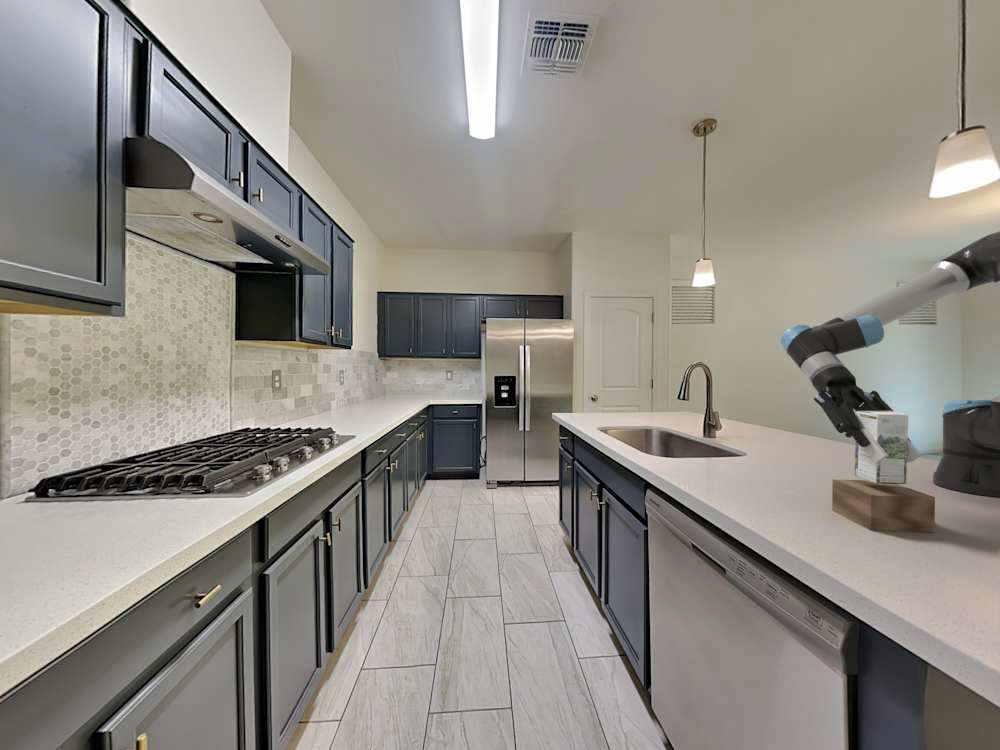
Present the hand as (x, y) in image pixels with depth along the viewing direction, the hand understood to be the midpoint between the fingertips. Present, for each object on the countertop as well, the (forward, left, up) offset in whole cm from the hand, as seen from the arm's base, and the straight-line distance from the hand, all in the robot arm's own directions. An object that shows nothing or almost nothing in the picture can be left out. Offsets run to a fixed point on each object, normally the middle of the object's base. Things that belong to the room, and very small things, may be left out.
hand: (898, 458), depth 79 cm
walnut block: (+1, -4, -14) cm, 14 cm away
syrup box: (+1, -4, -6) cm, 7 cm away
